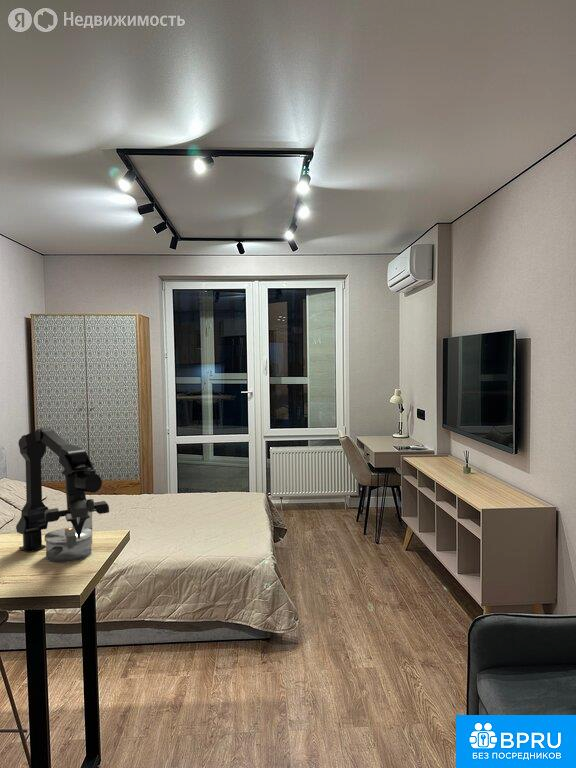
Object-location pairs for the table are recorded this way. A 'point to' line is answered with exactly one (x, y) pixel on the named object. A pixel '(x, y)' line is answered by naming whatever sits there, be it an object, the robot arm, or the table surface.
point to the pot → (68, 551)
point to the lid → (67, 536)
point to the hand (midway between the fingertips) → (78, 538)
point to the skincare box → (88, 523)
